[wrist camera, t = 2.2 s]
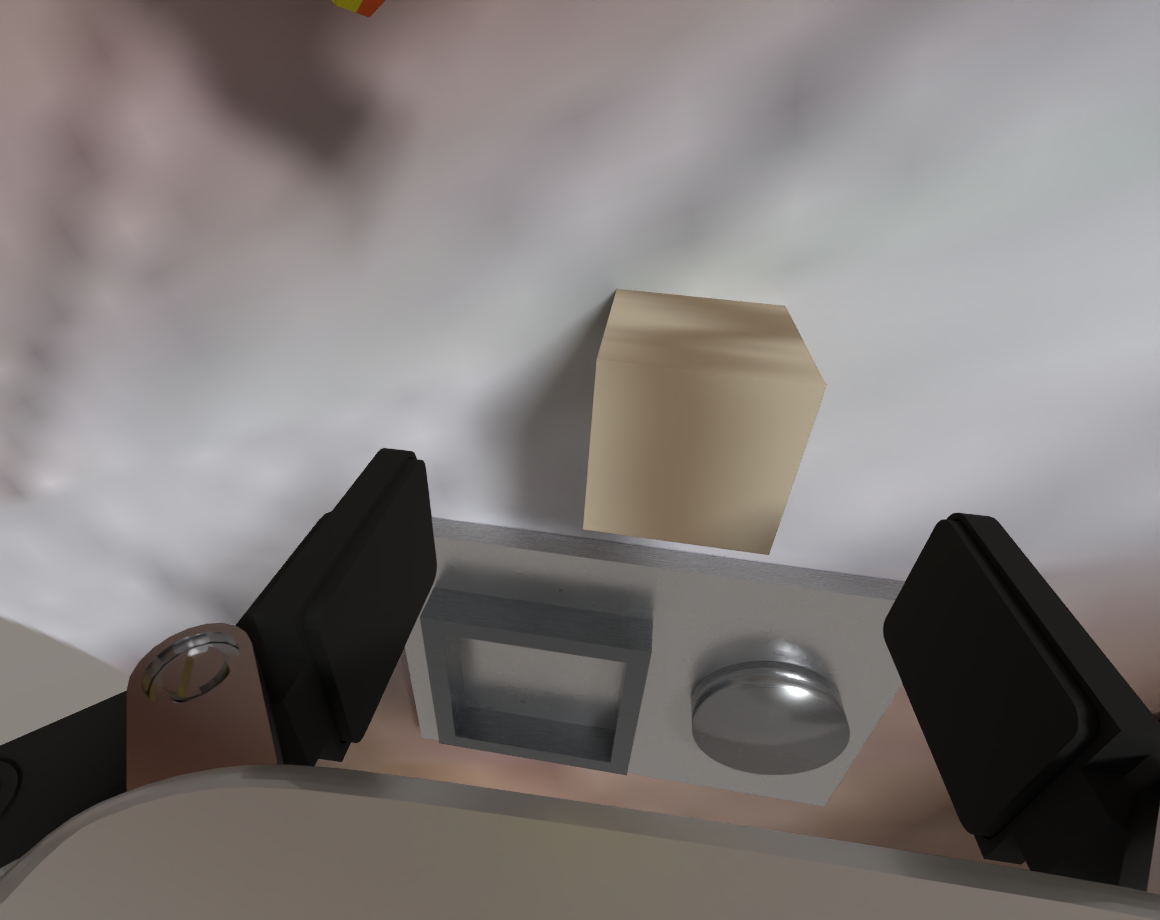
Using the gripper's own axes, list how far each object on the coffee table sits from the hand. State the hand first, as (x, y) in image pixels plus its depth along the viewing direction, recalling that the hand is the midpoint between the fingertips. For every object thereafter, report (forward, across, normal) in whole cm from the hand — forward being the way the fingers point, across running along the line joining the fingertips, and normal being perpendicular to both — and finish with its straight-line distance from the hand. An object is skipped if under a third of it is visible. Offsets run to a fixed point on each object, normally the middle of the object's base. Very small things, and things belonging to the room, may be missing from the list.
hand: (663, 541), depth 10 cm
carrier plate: (+7, -1, +14) cm, 16 cm away
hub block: (+7, -1, 0) cm, 8 cm away
